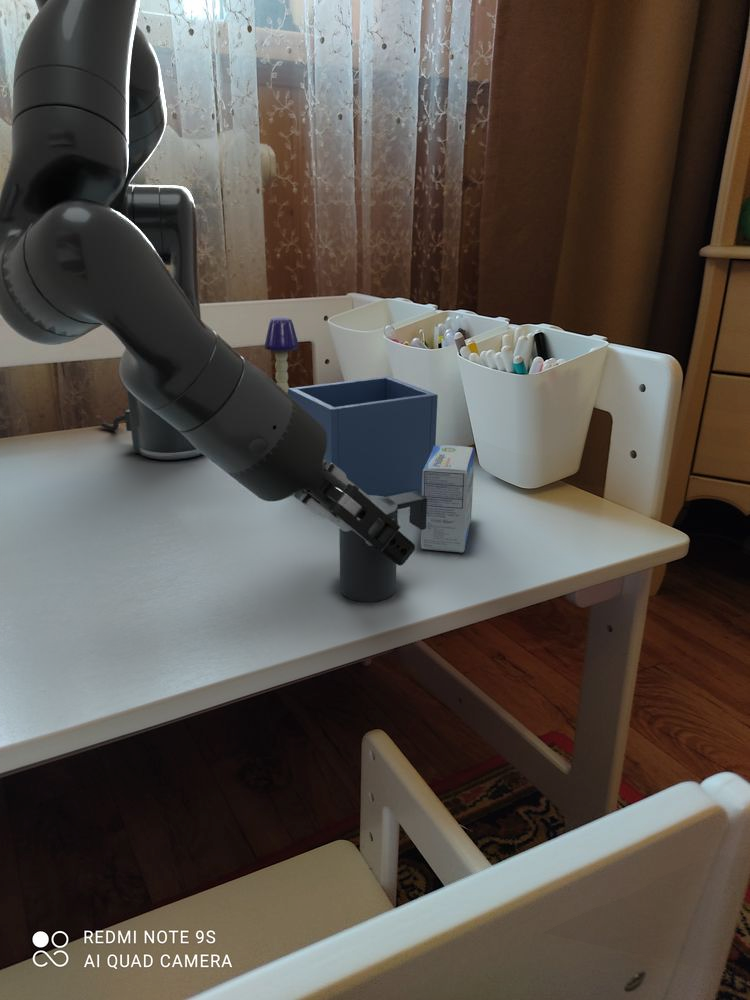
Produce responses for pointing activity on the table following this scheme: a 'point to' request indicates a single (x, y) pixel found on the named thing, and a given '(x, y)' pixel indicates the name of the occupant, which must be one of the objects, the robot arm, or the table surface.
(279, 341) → the toy lamp
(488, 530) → the table surface
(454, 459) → the medicine box
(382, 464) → the box
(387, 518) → the robot arm
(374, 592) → the mug
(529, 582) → the table surface
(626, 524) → the table surface
